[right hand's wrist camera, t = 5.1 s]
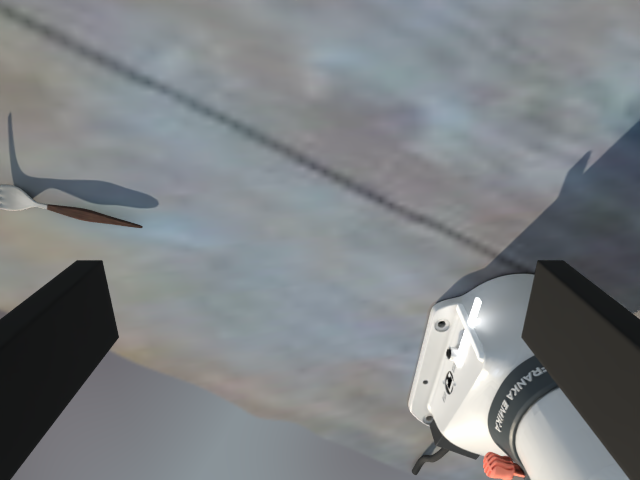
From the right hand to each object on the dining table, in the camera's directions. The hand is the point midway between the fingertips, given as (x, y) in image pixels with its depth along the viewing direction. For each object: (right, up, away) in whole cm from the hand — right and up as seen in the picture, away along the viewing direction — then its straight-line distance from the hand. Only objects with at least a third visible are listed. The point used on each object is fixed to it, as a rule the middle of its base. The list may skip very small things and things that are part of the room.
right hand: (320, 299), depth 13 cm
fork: (-25, +5, +28) cm, 38 cm away
